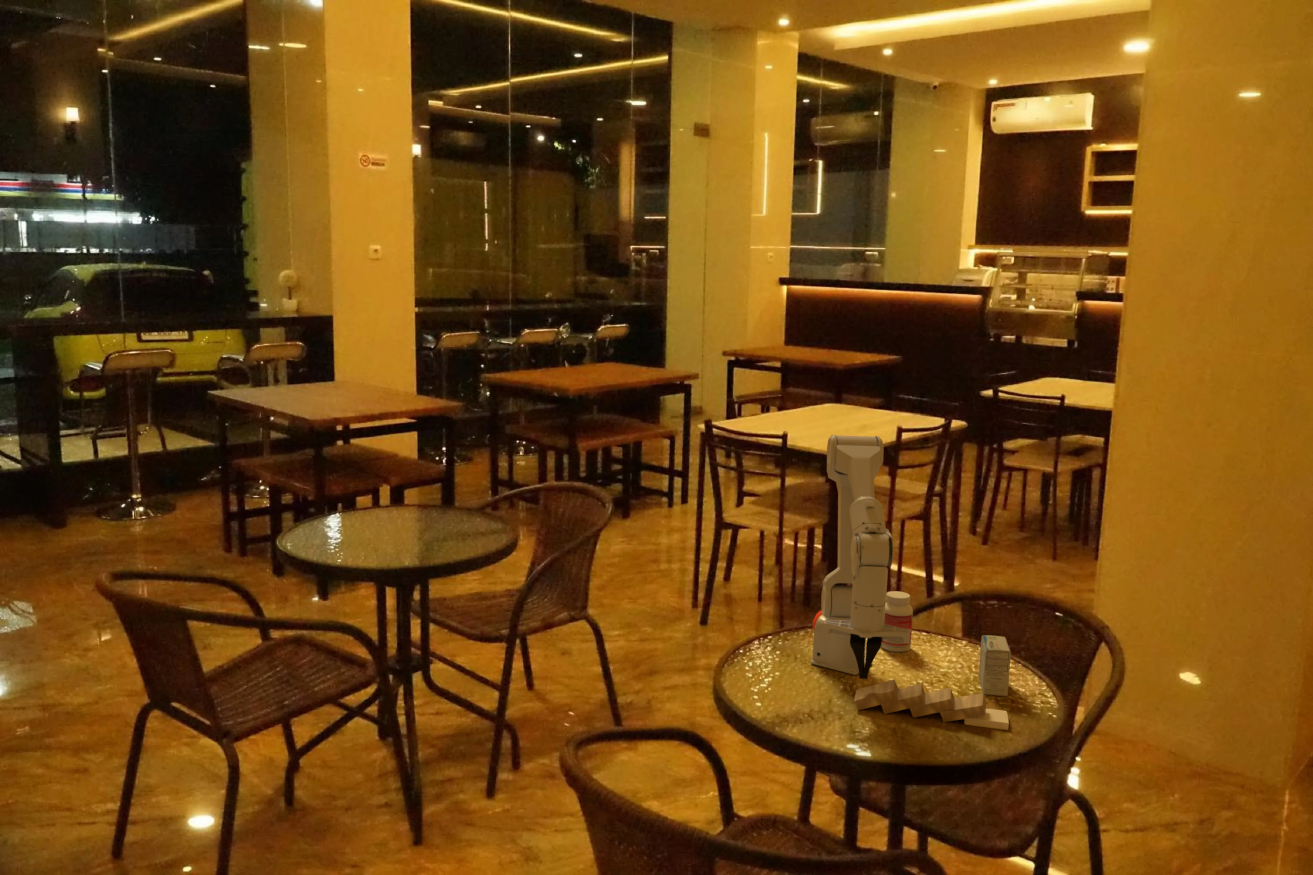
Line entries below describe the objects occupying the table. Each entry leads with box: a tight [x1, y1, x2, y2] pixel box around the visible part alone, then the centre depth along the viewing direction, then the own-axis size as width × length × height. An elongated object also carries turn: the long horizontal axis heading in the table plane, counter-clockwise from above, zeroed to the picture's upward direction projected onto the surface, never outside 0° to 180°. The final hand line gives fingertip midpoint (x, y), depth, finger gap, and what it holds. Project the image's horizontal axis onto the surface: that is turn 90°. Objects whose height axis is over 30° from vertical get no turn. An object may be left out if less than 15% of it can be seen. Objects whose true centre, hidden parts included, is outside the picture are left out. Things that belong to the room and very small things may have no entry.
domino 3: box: [909, 687, 955, 718], centre depth 178 cm, size 2×5×7 cm
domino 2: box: [881, 683, 926, 715], centre depth 179 cm, size 2×5×7 cm
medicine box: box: [978, 634, 1012, 697], centre depth 189 cm, size 8×4×9 cm, turn 168°
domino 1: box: [853, 679, 899, 711], centre depth 180 cm, size 2×5×7 cm
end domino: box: [963, 707, 1010, 731], centre depth 176 cm, size 2×5×7 cm
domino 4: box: [939, 692, 987, 723], centre depth 176 cm, size 2×5×7 cm
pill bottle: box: [880, 590, 914, 653], centre depth 208 cm, size 6×6×11 cm
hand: (863, 676), depth 180 cm, fingers closed
